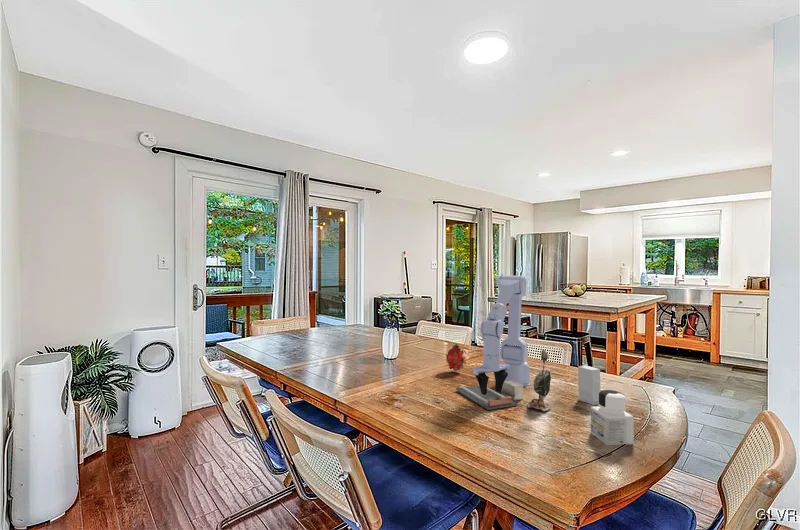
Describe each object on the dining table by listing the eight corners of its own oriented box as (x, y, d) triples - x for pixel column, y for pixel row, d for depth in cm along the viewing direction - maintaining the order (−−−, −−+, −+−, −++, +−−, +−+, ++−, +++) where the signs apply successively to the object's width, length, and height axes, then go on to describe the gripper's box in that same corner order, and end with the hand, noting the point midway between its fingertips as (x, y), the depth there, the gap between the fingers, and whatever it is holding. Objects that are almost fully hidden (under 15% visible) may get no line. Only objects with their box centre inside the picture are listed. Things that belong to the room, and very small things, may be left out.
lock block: (508, 392, 145) (508, 379, 145) (523, 398, 139) (523, 384, 139) (500, 394, 143) (500, 380, 143) (514, 400, 137) (514, 386, 137)
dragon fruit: (461, 375, 166) (461, 347, 166) (442, 372, 170) (443, 345, 170) (468, 370, 173) (468, 343, 173) (450, 367, 177) (450, 341, 177)
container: (590, 433, 111) (590, 387, 111) (615, 432, 112) (616, 387, 112) (606, 445, 104) (607, 397, 103) (633, 445, 104) (634, 396, 104)
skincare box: (601, 403, 134) (601, 369, 134) (592, 405, 132) (593, 370, 132) (585, 398, 140) (586, 364, 140) (577, 400, 138) (577, 366, 138)
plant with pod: (558, 405, 132) (559, 346, 132) (544, 414, 124) (545, 352, 124) (535, 399, 138) (536, 343, 138) (520, 407, 130) (521, 348, 130)
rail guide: (482, 386, 151) (482, 379, 151) (517, 405, 132) (517, 397, 132) (455, 389, 147) (455, 383, 147) (487, 410, 127) (487, 402, 127)
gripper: (500, 349, 142) (499, 386, 143) (467, 353, 136) (467, 392, 136) (513, 354, 136) (513, 392, 136) (480, 358, 130) (479, 398, 130)
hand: (491, 392), depth 136 cm, fingers open, 6 cm apart
